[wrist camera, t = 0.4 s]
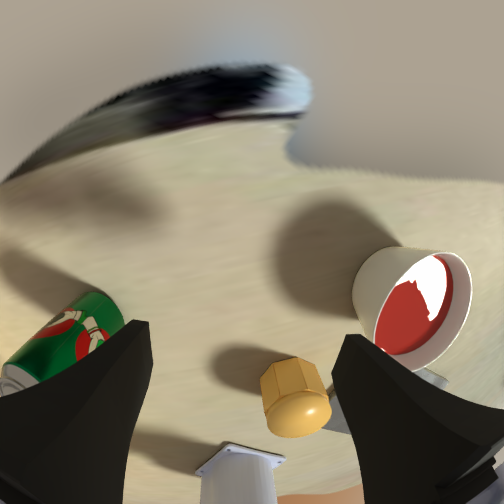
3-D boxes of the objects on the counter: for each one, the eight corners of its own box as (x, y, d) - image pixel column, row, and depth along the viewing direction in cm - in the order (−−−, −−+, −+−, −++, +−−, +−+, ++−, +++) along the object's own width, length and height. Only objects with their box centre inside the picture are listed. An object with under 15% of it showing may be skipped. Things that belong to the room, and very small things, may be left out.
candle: (318, 278, 20) (350, 316, 14) (403, 210, 19) (455, 223, 13) (364, 350, 22) (395, 392, 16) (435, 290, 21) (478, 317, 15)
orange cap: (294, 404, 23) (304, 442, 18) (250, 388, 22) (254, 429, 17) (326, 369, 22) (344, 406, 17) (282, 350, 21) (294, 390, 17)
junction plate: (390, 436, 27) (401, 456, 23) (304, 419, 24) (312, 447, 20) (446, 378, 25) (462, 396, 21) (375, 341, 22) (395, 366, 18)
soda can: (71, 320, 20) (-5, 402, 8) (86, 277, 19) (-11, 354, 7) (116, 352, 21) (59, 452, 9) (136, 311, 20) (67, 420, 8)
